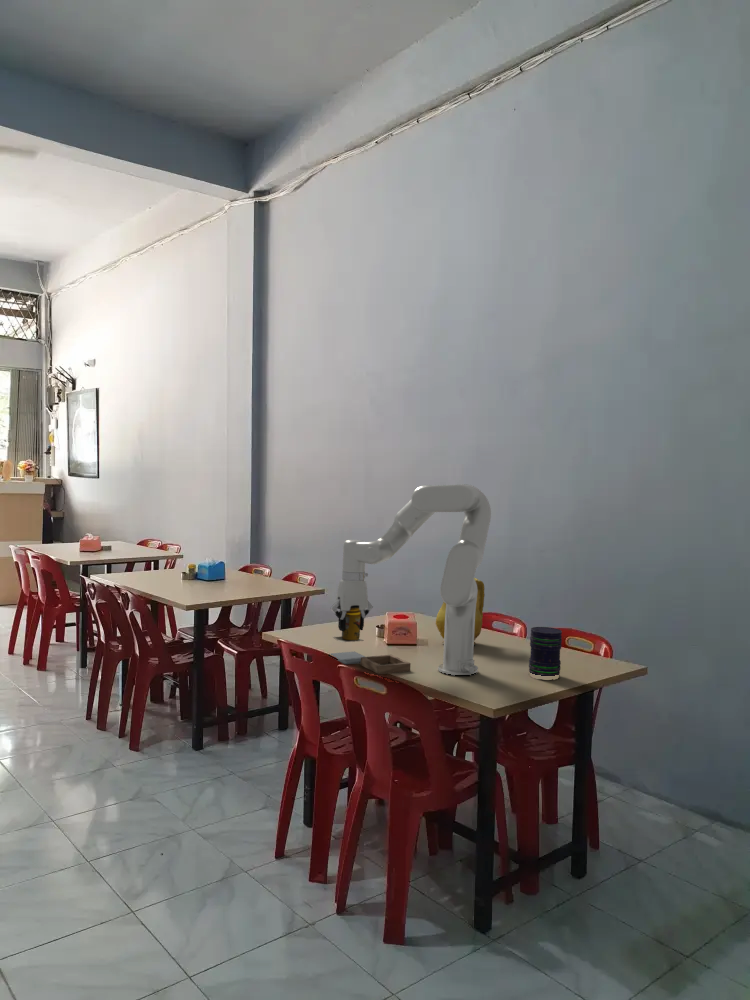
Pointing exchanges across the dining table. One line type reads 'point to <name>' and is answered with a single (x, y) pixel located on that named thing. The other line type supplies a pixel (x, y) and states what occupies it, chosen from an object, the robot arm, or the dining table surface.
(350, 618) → the condiment
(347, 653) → the mat
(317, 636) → the dining table surface
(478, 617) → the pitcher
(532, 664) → the storage jar
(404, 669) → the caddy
